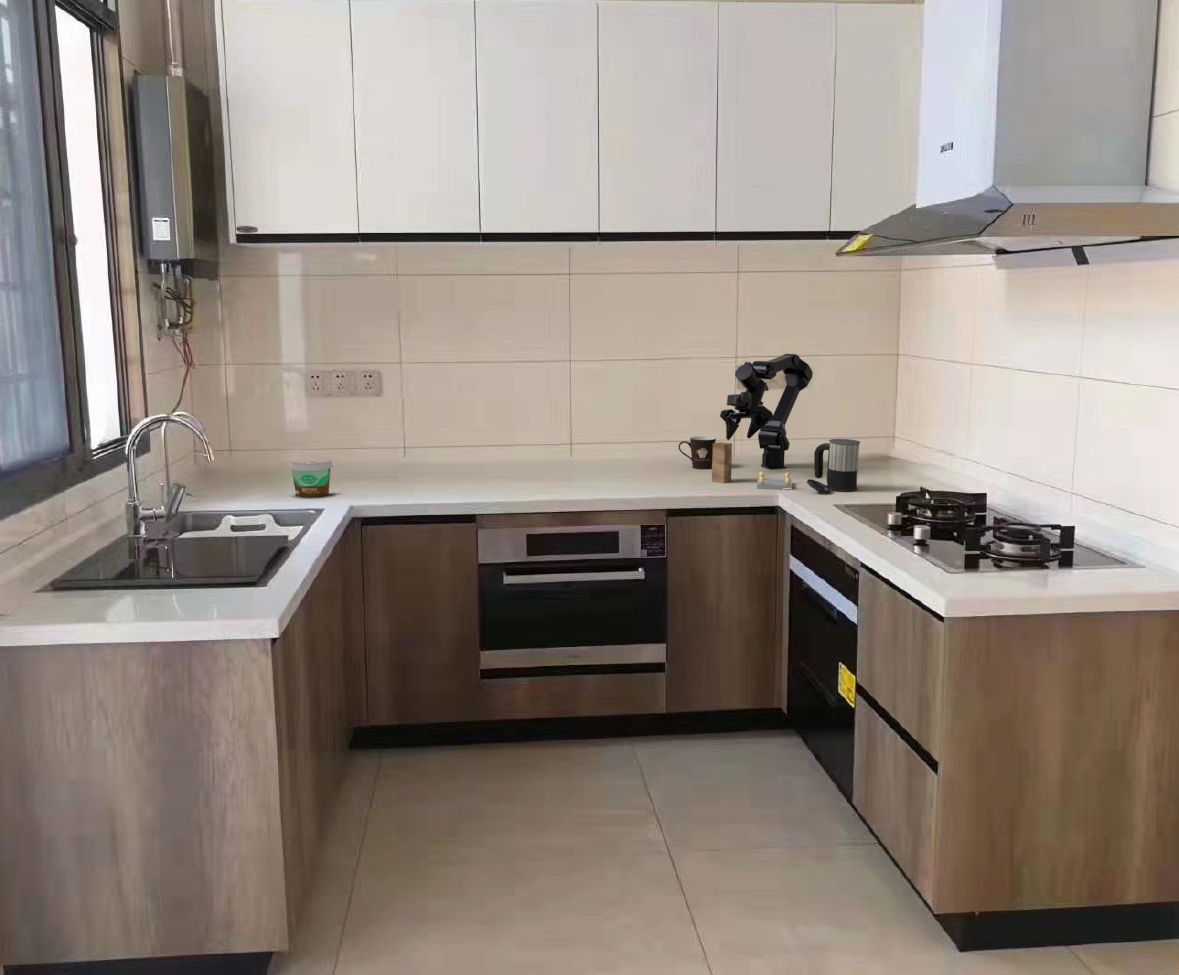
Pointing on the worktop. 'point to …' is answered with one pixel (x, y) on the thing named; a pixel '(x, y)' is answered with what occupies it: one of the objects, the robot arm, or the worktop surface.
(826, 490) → the milk frother
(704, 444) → the coffee mug
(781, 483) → the peg stand
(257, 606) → the worktop surface
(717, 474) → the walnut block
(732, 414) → the robot arm
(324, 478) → the food container
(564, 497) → the worktop surface
